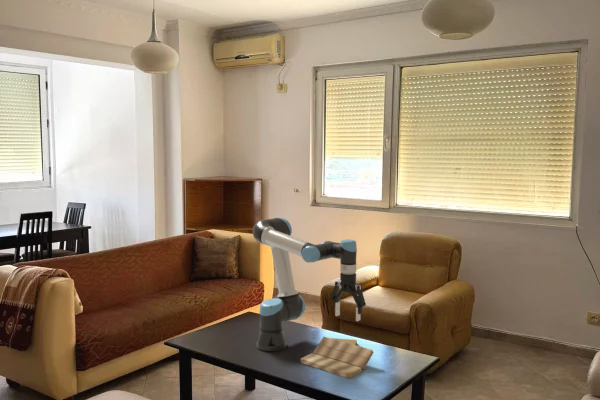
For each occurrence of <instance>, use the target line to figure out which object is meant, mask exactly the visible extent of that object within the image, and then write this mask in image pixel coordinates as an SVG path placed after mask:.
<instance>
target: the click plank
mask: <svg viewBox="0 0 600 400" xmlns="http://www.w3.org/2000/svg"><path fill="white" fill-rule="evenodd" d="M331 338H332V337H326V336H323V337H322V338H321V339H320V341H319V343H318V344H317V346H316V348H315V349H314V350H313V352H312V353H314V354H317V355H321V356H324V357H327V358H331V359H334V360H337V361H340V362H344V363H347V364H350V365H354V366H357V367H360V368H362V371H365V369H366V367H367V365H368V363H369V362H370V360H371V358H372V356H373V355H374V350H373V349H371V348H367V347H363V346H359V345H353V344H349V343H345V342H342V341H338V340H335V339H331Z"/></svg>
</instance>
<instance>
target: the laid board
mask: <svg viewBox="0 0 600 400" xmlns="http://www.w3.org/2000/svg"><path fill="white" fill-rule="evenodd" d="M300 363H301V364H304V365H305V366H309V367H312V368H315V369H318V370H322V371H325V372H328V373H331V374H334V375H337V376H340V377H343V378H346V379H350V380H351V379H353V378H354V377H356V376H358V375H360V374H361V373H363V370H362V368H360V367H357V366H354V365H350V364H347V363H344V362H340V361H337V360H334V359H331V358H327V357H324V356H321V355H317V354H314V353H313V352H312V353H310V354H307V355H305V356H303V357H301V358H300Z"/></svg>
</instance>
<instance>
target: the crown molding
mask: <svg viewBox="0 0 600 400" xmlns="http://www.w3.org/2000/svg"><path fill="white" fill-rule="evenodd" d="M330 338H331V339H335V340H338V341H342V342H345V343H349V344H353V345H356V346H358V345H357V344H358V342H357V339H350V338H349V339H348V338H334V337H330Z"/></svg>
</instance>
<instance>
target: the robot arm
mask: <svg viewBox="0 0 600 400" xmlns="http://www.w3.org/2000/svg"><path fill="white" fill-rule="evenodd" d="M292 229H293V228H292V225H291V224H290V222H289V221H288V220H287V219H286V218H284V217H274V218H268V219H260V220H259V221H257V222H256V223H255V224H254V225H253V227H252V236H253V238H254V239H255V241H256V242H258V243H261V245H265V246H268V247H269V248H271V253H272V255H271V256H272V260H273V265H274V272H275V277H276V283H277V289H278V294H277V295H276V297H275V298H274V297H273V298H267V299H264V300H263V301H261V303H260V305H259V311H258V313H259V334H258V336H257V340H256V348H257V349H258V350H260V351H263V352H277V351H281V350H284V349H286V347H287V340H286V338H285V332H284V328H283V327H284V323H287V322H290V321H293V320H297V319H298V318H301V317H302V316H303V315H304V313H305V311H306V302H305V299H304V298H303V297H302V296H301V295H299V291H297V290H296V289H295V282H294V277H293V271H292V266H291V264H292V263H291V260H290V254H289V253H291V254H294V255H296V256H299V257H302V260H303V261H304V262H306V263H309V264H310V263H316V262H318V261H323V260H327V259H339V261H340V270H339V271H340V277H339V278H340V279H339V280H337V281H335V282H334V287H333V291H332V293H331V296H330V301H333V305H334V306H333V308H334V309H335V314H334V315H335V317H338V316H340V315H341V301H340V299H341V297H342V296H343V295H344V293H348V294H350V295H351V297H352V298H353V300H354V302H355V305H356V307H355V321H356V322H359V321H361V314H363V307H365V306H367V303H366V300H365V296H364V293H363V287H362V285H361V284H360V285H359V284H357V283H356V282H357V252H358V248H357V241H356V240H354V239H341V241H340V242H337V241H336V242H335V241H330V240H324V241H322V242H320V243H318V244H313V243H311V242H309V241H305V240H303V239H302V238H301V239H300V238H297V237H294V236H292V233H293V230H292ZM340 287H341V288H340ZM339 288H340V289H339Z"/></svg>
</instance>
